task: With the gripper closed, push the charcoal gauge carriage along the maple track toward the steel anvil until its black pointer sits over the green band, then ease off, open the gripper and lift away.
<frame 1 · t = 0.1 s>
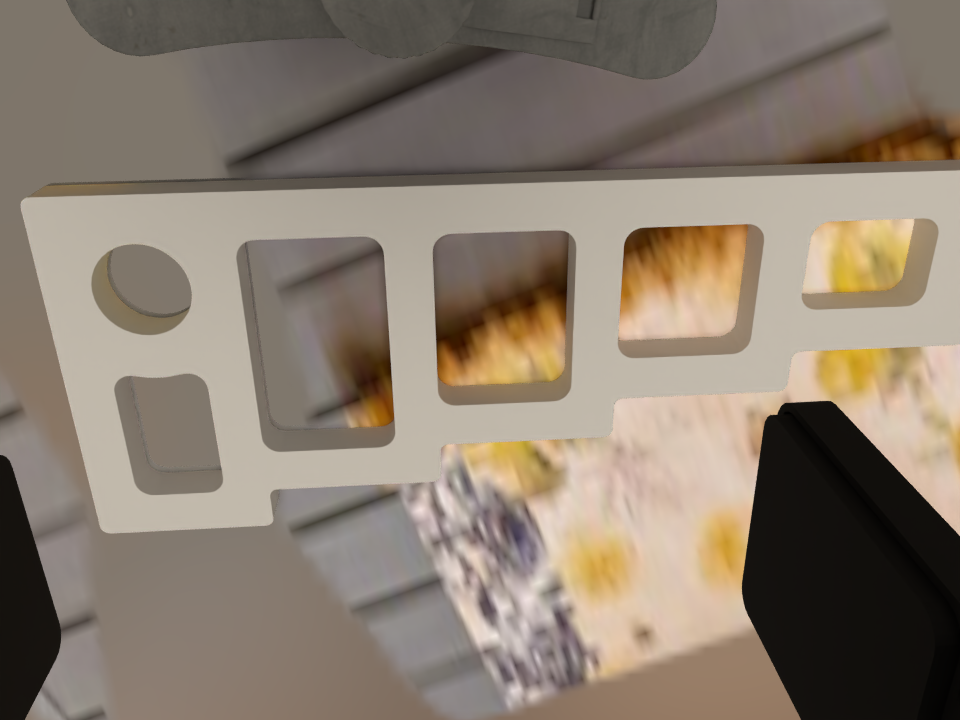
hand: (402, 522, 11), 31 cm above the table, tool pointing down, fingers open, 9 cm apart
holder: (520, 339, 45), on the table
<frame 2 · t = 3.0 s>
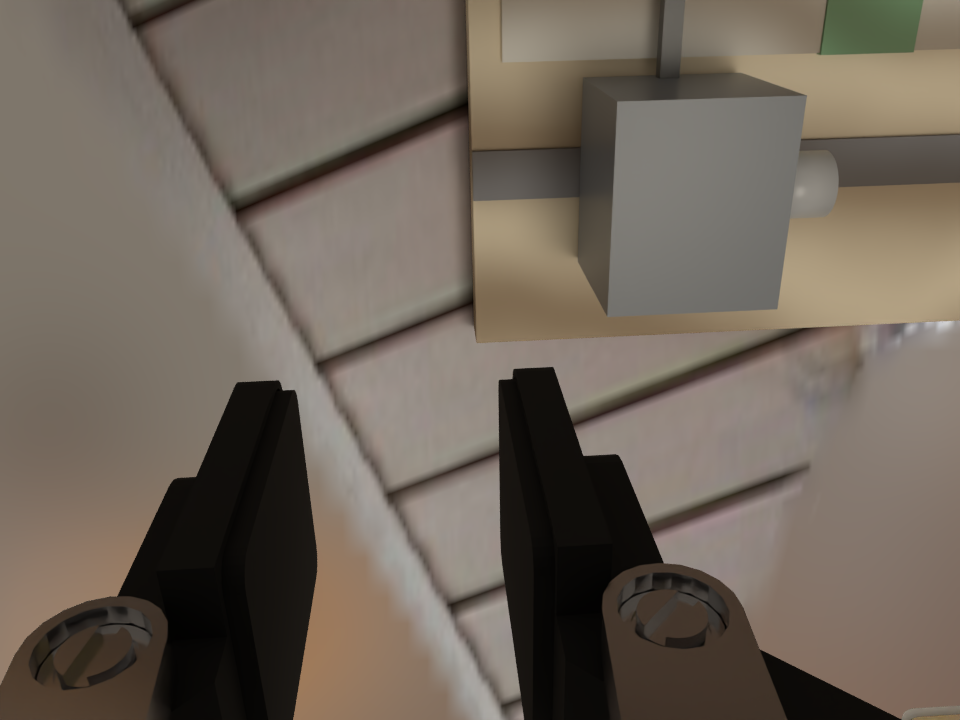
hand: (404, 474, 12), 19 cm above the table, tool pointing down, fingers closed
gauge carriage: (714, 132, 25), point 4 cm above the table, slide at 0.0 cm
track board: (811, 153, 30), on the table
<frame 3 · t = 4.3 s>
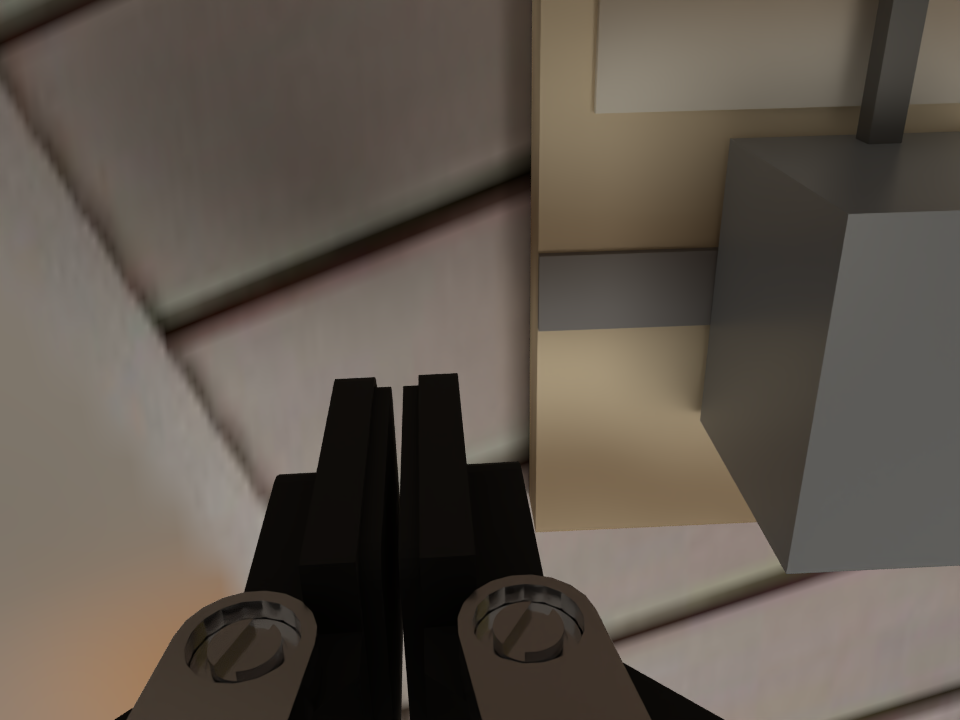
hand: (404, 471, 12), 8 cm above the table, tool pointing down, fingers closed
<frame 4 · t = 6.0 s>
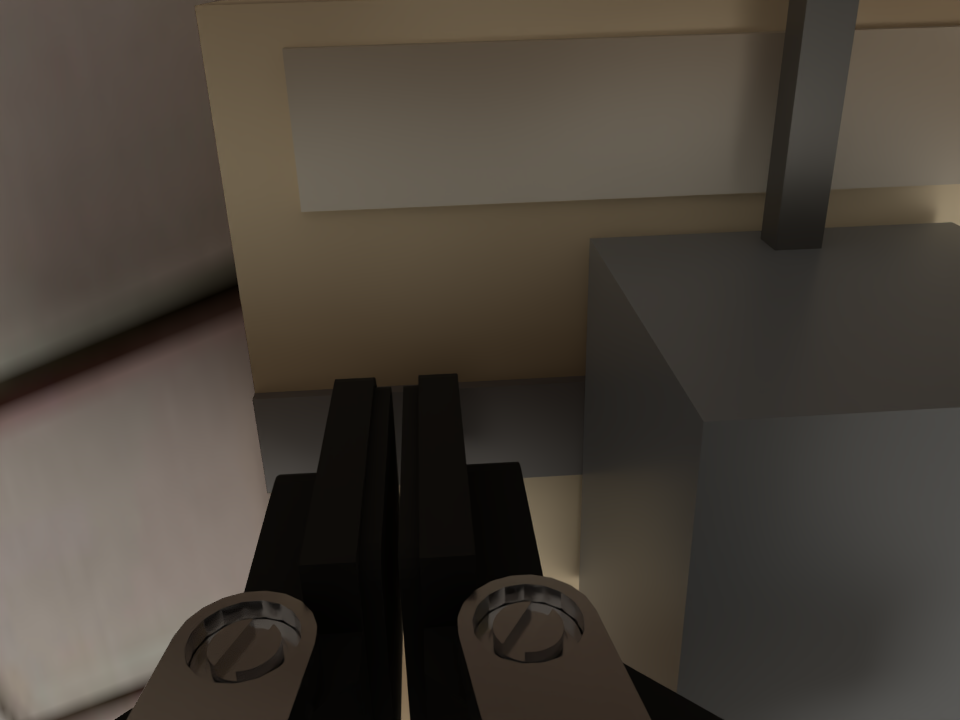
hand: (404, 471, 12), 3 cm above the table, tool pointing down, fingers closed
gauge carriage: (924, 400, 10), point 4 cm above the table, slide at 1.3 cm, touching gripper
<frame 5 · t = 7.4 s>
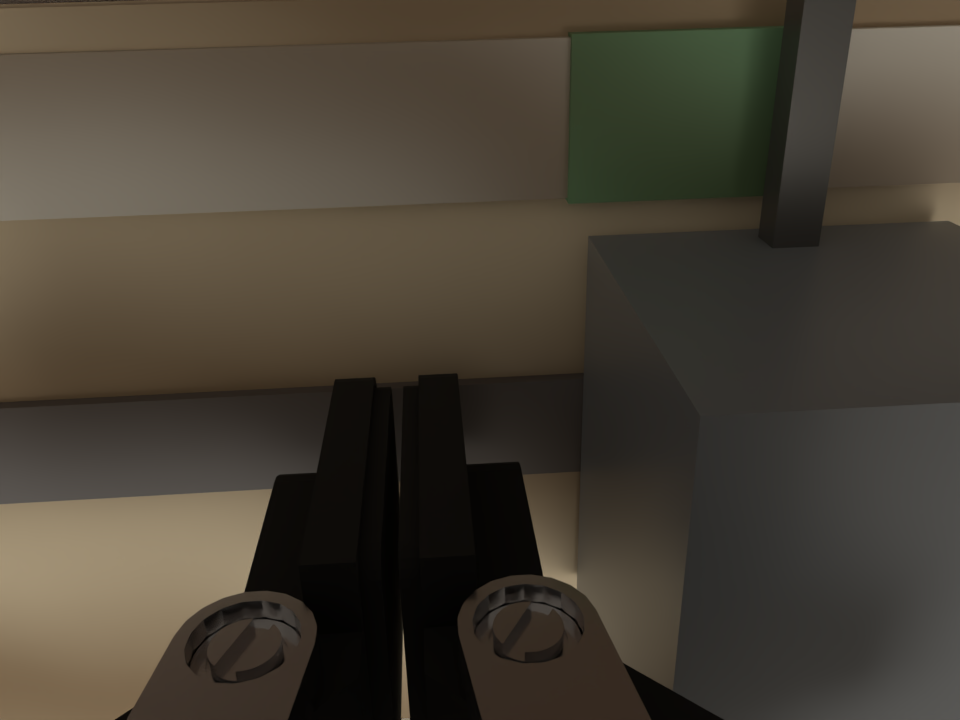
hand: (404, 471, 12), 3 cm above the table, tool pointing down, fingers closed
gauge carriage: (920, 397, 10), point 4 cm above the table, slide at 7.8 cm, touching gripper
track board: (605, 374, 14), on the table
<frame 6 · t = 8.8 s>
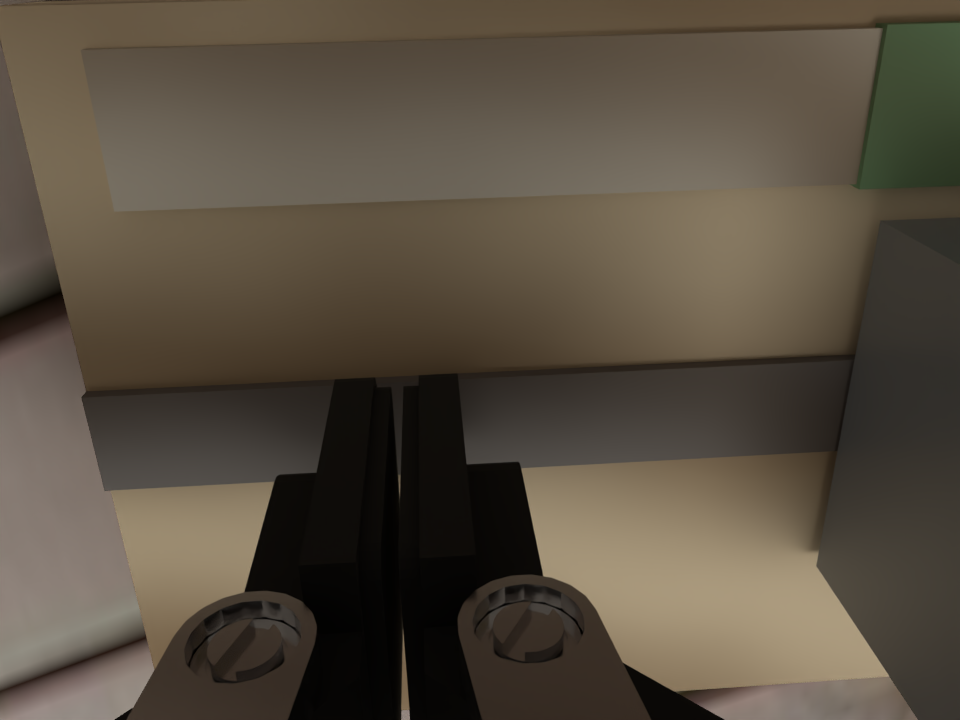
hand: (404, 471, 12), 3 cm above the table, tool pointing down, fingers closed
track board: (832, 358, 15), on the table
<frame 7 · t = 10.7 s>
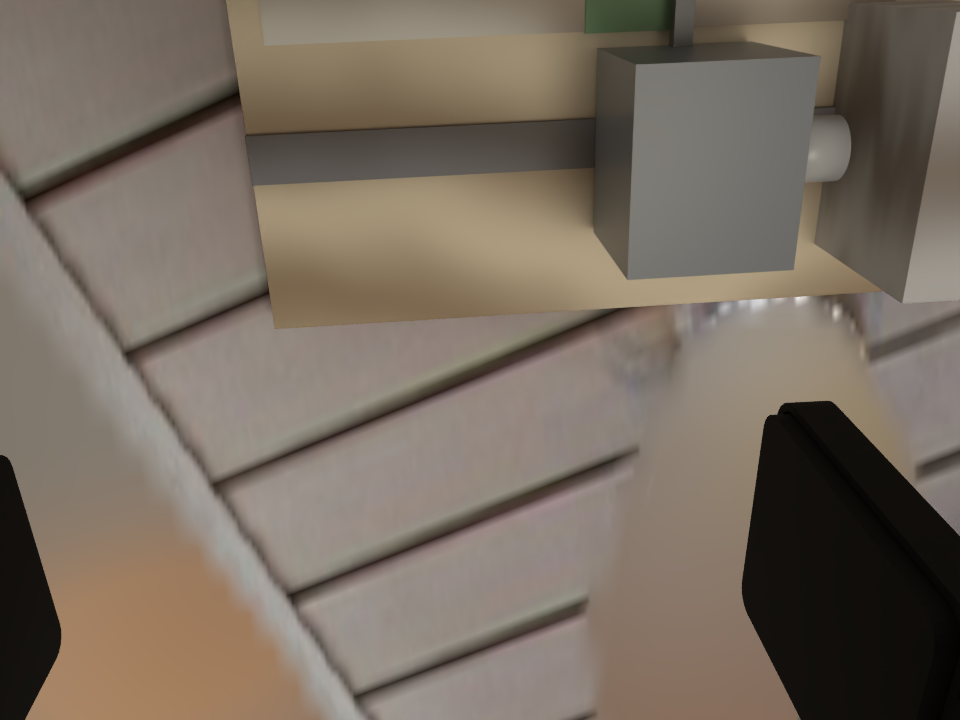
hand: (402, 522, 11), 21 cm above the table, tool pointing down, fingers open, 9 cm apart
gauge carriage: (729, 98, 25), point 4 cm above the table, slide at 7.9 cm
track board: (602, 133, 30), on the table
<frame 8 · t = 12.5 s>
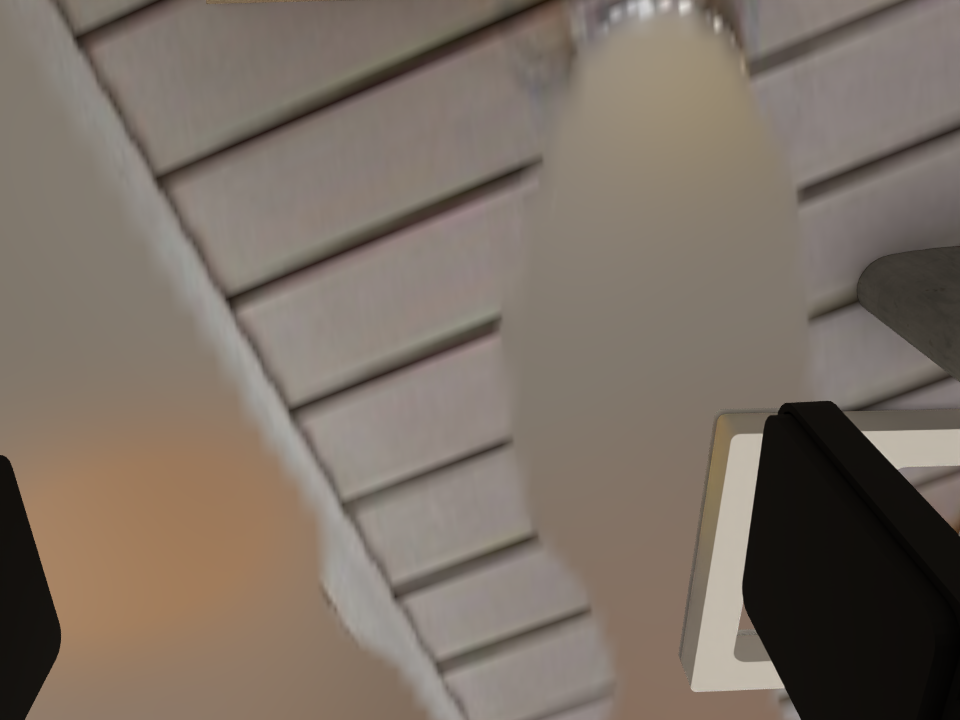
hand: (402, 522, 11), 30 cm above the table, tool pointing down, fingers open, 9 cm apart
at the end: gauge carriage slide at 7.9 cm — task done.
